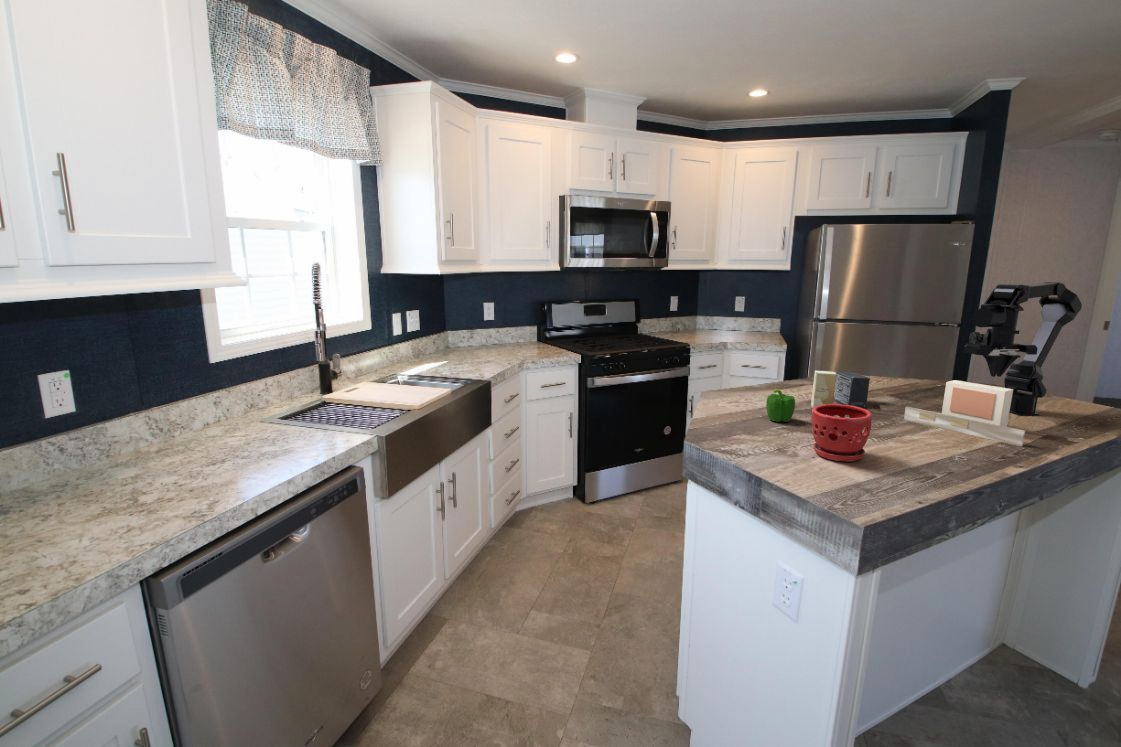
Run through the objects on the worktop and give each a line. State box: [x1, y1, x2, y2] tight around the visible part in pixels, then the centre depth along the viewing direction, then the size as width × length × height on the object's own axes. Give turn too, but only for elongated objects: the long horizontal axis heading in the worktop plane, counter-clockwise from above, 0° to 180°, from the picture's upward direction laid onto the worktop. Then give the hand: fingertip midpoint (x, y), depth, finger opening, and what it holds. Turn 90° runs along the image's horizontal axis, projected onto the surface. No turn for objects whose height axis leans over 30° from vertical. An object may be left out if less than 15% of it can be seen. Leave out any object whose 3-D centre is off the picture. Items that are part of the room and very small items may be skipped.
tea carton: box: [941, 379, 1013, 427], centre depth 150 cm, size 10×14×12 cm
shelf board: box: [903, 406, 1048, 447], centre depth 151 cm, size 18×28×6 cm, turn 32°
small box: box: [833, 371, 871, 409], centre depth 181 cm, size 11×6×10 cm, turn 179°
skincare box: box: [810, 370, 837, 409], centre depth 176 cm, size 6×4×12 cm
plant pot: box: [811, 403, 872, 463], centre depth 132 cm, size 13×13×12 cm
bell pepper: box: [765, 388, 796, 423], centre depth 162 cm, size 8×8×10 cm
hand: (995, 376), depth 163 cm, fingers closed
